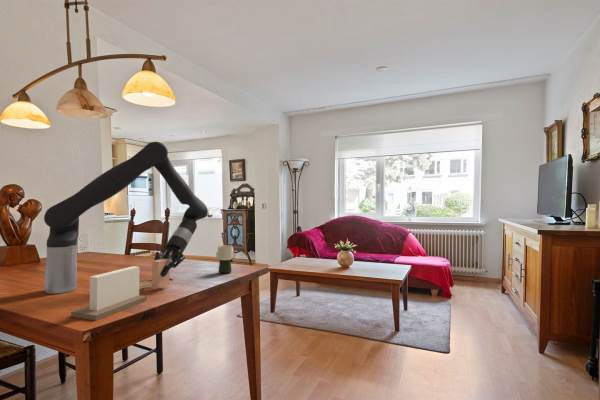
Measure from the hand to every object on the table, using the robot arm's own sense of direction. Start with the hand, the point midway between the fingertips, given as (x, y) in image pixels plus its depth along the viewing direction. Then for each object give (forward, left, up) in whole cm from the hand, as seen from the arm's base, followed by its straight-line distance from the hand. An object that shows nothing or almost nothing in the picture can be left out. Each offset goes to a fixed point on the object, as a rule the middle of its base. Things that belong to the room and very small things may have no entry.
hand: (158, 275), depth 118 cm
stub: (0, +1, -4) cm, 5 cm away
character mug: (+9, +34, -6) cm, 36 cm away
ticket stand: (0, -20, -6) cm, 21 cm away
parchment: (-12, +4, -7) cm, 14 cm away
